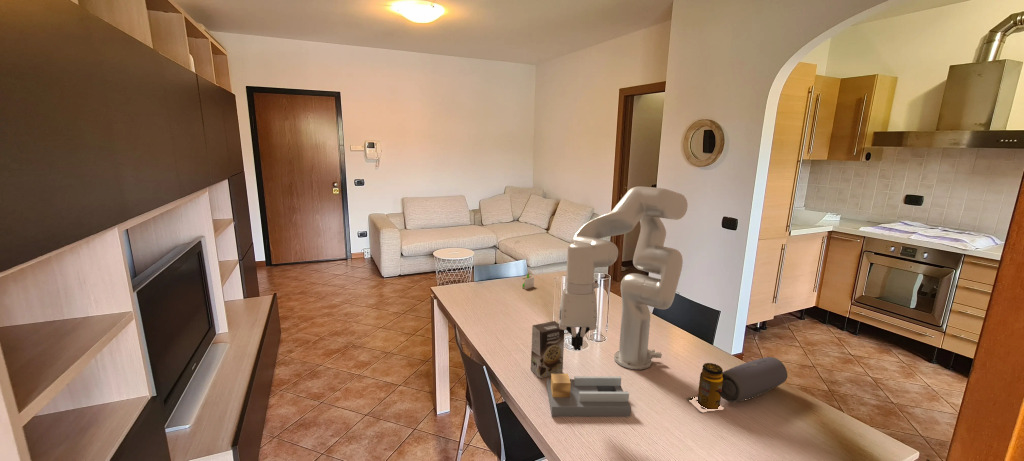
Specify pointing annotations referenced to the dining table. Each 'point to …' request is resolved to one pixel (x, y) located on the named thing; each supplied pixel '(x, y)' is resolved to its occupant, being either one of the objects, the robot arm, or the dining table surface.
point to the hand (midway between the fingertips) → (576, 347)
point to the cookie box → (547, 349)
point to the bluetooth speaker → (752, 379)
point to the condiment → (710, 386)
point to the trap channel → (591, 398)
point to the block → (560, 385)
